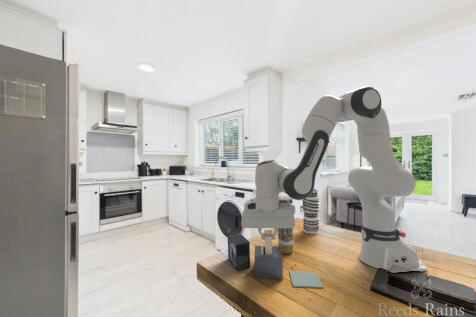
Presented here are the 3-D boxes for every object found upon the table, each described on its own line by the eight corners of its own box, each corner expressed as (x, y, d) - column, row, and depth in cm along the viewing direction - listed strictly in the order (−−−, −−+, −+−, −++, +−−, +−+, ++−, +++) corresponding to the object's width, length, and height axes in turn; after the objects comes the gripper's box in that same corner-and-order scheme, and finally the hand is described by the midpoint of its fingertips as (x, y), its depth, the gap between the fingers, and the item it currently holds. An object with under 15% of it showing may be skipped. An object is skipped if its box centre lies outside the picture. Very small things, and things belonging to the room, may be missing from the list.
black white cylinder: (322, 233, 117) (322, 189, 117) (307, 234, 115) (307, 190, 115) (314, 227, 126) (313, 186, 126) (299, 229, 124) (299, 187, 124)
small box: (227, 258, 90) (226, 234, 90) (240, 255, 93) (240, 232, 93) (235, 271, 80) (235, 244, 80) (251, 267, 83) (250, 241, 83)
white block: (271, 252, 82) (270, 227, 82) (272, 259, 77) (271, 232, 77) (264, 252, 82) (264, 227, 82) (265, 259, 77) (264, 232, 77)
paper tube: (293, 254, 93) (292, 199, 92) (278, 253, 94) (277, 198, 94) (292, 248, 99) (292, 196, 99) (278, 247, 101) (277, 195, 100)
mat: (316, 272, 78) (316, 271, 78) (323, 288, 69) (323, 286, 69) (289, 271, 79) (289, 270, 79) (293, 286, 70) (293, 285, 70)
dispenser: (280, 266, 84) (279, 245, 83) (282, 279, 75) (282, 256, 74) (255, 265, 84) (254, 244, 84) (254, 278, 76) (254, 255, 75)
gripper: (293, 201, 81) (294, 236, 82) (241, 201, 83) (242, 235, 83) (296, 204, 75) (297, 242, 75) (240, 205, 77) (241, 242, 77)
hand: (268, 238), depth 79 cm, fingers closed on white block, 2 cm apart
